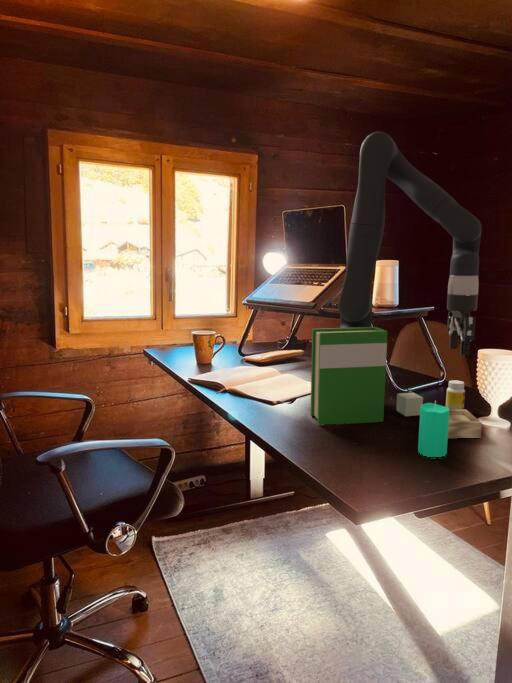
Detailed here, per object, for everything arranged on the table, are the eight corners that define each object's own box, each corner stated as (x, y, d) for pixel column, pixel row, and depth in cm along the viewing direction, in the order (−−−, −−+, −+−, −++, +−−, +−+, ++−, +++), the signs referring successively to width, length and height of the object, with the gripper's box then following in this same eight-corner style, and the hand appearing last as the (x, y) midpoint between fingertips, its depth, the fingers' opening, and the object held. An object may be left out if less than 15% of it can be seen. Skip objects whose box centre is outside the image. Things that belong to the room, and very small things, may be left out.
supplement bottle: (465, 414, 134) (467, 384, 133) (446, 413, 135) (449, 383, 134) (461, 409, 139) (463, 380, 137) (444, 408, 140) (446, 379, 138)
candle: (413, 448, 111) (416, 397, 109) (439, 447, 111) (442, 396, 109) (424, 459, 105) (427, 405, 103) (451, 458, 106) (455, 404, 103)
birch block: (437, 438, 117) (438, 422, 116) (425, 423, 127) (426, 408, 126) (480, 438, 116) (482, 422, 116) (465, 424, 126) (466, 409, 125)
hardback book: (318, 425, 126) (320, 333, 121) (310, 416, 133) (312, 328, 129) (383, 421, 129) (387, 331, 124) (372, 412, 136) (375, 327, 131)
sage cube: (405, 416, 133) (406, 398, 132) (396, 410, 138) (397, 393, 137) (422, 415, 134) (423, 397, 133) (412, 409, 139) (413, 392, 138)
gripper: (440, 290, 138) (436, 347, 141) (457, 294, 124) (453, 357, 127) (467, 290, 138) (463, 347, 141) (488, 294, 124) (483, 357, 127)
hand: (458, 351), depth 134 cm, fingers open, 8 cm apart
